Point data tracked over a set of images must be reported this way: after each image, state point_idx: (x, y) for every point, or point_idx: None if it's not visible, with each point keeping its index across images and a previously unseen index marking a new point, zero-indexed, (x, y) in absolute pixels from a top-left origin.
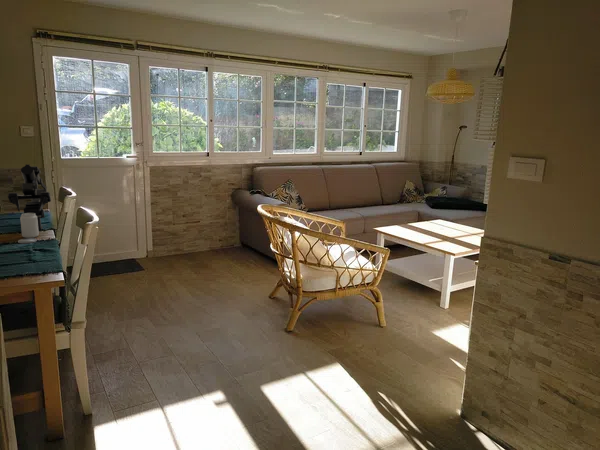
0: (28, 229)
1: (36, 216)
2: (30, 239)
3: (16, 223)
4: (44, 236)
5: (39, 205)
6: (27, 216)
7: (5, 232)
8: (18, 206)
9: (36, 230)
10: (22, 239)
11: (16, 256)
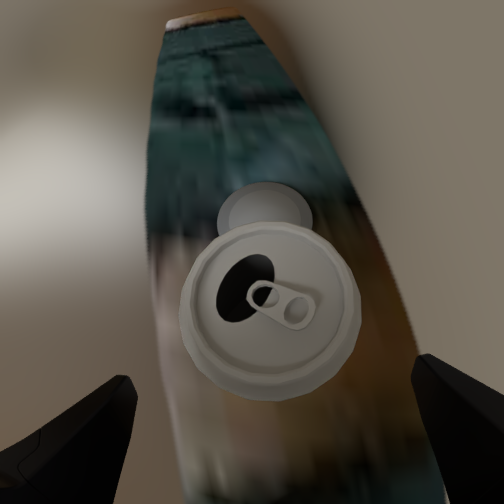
0: (269, 271)
1: (182, 298)
2: None
3: None
4: None
5: (84, 419)
6: (265, 230)
7: None
8: (461, 390)
9: (221, 306)
10: None
11: (256, 72)
